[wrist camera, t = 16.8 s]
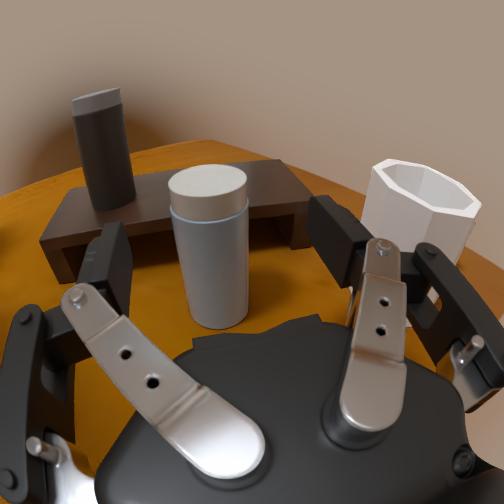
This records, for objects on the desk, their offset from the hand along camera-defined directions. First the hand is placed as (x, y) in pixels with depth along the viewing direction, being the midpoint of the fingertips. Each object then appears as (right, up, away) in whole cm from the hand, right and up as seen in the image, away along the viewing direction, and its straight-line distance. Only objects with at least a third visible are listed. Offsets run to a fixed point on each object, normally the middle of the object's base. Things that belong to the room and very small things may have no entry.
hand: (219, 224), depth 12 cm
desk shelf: (-6, +1, +16) cm, 17 cm away
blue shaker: (-1, -5, +9) cm, 10 cm away
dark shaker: (-11, +4, +12) cm, 17 cm away
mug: (+15, -4, +11) cm, 19 cm away
